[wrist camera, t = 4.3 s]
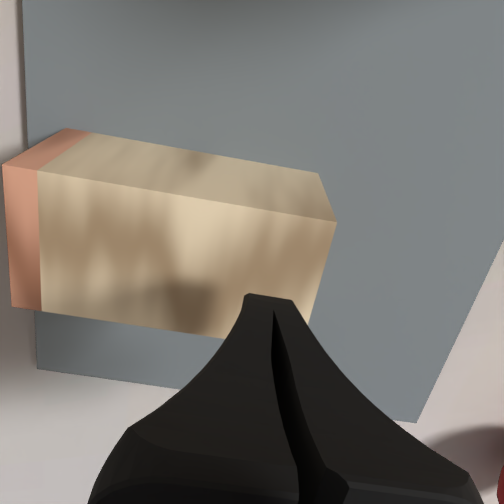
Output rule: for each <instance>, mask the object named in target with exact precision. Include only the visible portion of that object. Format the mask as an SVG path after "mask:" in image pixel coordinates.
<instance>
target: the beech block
mask: <svg viewBox="0 0 504 504" xmlns="http://www.w3.org/2000/svg"><path fill="white" fill-rule="evenodd" d="M2 172H3V187H4V202H5V216H6V231H7V246H8V261H9V275H10V290H11V305H12V307H18V308H24V309H31V310H37V311H44V312H50V313H57V314H64V315H70V316H77V317H83V318H90V319H97V320H103V321H110V322H116V323H123V324H129V325H136V326H143V327H149V328H156V329H162V330H169V331H176V332H182V333H189V334H195V335H202V336H209V337H215V338H222V339H226V337H227V336H228V334H229V333H230V331H231V329H232V327H233V326H234V324H235V322H236V320H237V318H238V316H239V314H240V311H241V308H242V303H243V298H244V295H246V294H248V293H253V294H259V295H265V296H271V297H278V298H284V299H290V300H292V301H293V302H294V304H295V305H296V307H297V308H298V310H299V312H300V313H301V315H302V317H303V318H304V320H305V322H306V323H307V325H308V322H309V319H310V315H311V312H312V308H313V305H314V301H315V298H316V294H317V291H318V287H319V284H320V280H321V277H322V274H323V270H324V267H325V263H326V260H327V256H328V253H329V249H330V246H331V242H332V239H333V235H334V232H335V228H336V225H337V221H336V218H335V215H334V213H333V210H332V208H331V205H330V203H329V200H328V197H327V195H326V192H325V190H324V187H323V185H322V182H321V179H320V177H319V174H318V173H314V172H309V171H303V170H298V169H292V168H286V167H281V166H275V165H270V164H264V163H259V162H253V161H248V160H242V159H237V158H231V157H225V156H220V155H214V154H209V153H203V152H198V151H192V150H187V149H181V148H175V147H170V146H164V145H159V144H153V143H148V142H142V141H137V140H131V139H125V138H120V137H114V136H109V135H103V134H98V133H92V132H87V131H81V130H75V129H70V128H65V129H63V130H61V131H60V132H58V133H56V134H54V135H53V136H51V137H49V138H47V139H46V140H44V141H42V142H40V143H39V144H37V145H35V146H33V147H32V148H30V149H28V150H26V151H25V152H23V153H21V154H19V155H18V156H16V157H14V158H12V159H11V160H9V161H7V162H5V163H4V164H2Z"/></svg>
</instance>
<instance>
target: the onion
mask: <svg viewBox="0 0 504 504" xmlns="http://www.w3.org/2000/svg"><path fill="white" fill-rule="evenodd" d="M497 498H498V501H499V504H504V466H503V467H502V470H501V474H500V477H499V481H498V489H497Z"/></svg>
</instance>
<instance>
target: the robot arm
mask: <svg viewBox="0 0 504 504" xmlns="http://www.w3.org/2000/svg"><path fill="white" fill-rule="evenodd" d="M88 504H484V503H483V501H482V498H481V496H480V494H479V492H478V490H477V488H476V486H475V484H474V482H473V480H472V479H471V477H470V475H469V473H468V472H466V471H465V470H463V469H461V468H460V467H458V466H457V465H455V464H454V463H452V462H450V461H449V460H447V459H446V458H444V457H442V456H441V455H439V454H438V453H436V452H435V451H433V450H431V449H430V448H428V447H427V446H426V445H424V444H423V443H421V442H420V441H419V440H417V439H416V438H415V437H413V436H412V435H411V434H409V433H408V432H406V431H405V430H404V429H403V428H401V427H400V426H399V425H398V424H396V423H395V422H394V421H392V420H391V419H390V418H389V417H388V416H387V415H385V414H384V413H383V412H382V411H381V410H380V409H379V408H377V407H376V406H375V405H374V404H373V403H372V402H371V401H370V400H369V399H368V398H367V397H365V396H364V395H363V394H362V393H361V392H360V391H359V389H358V388H357V387H356V386H355V385H354V384H353V383H352V382H351V381H350V380H349V379H348V378H347V377H346V376H345V375H344V374H343V372H342V371H341V370H340V369H339V368H338V366H337V365H336V364H335V363H334V361H333V360H332V359H331V358H330V357H329V355H328V354H327V353H326V351H325V350H324V348H323V347H322V346H321V344H320V343H319V341H318V340H317V338H316V337H315V336H314V334H313V333H312V331H311V329H310V328H309V326H308V325H307V323H306V322H305V320H304V318H303V317H302V315H301V313H300V312H299V310H298V308H297V307H296V305H295V304H294V302H293V301H292V300H290V299H284V298H278V297H271V296H265V295H259V294H253V293H248V294H246V295H244V298H243V303H242V308H241V311H240V314H239V316H238V318H237V320H236V322H235V324H234V326H233V327H232V329H231V331H230V333H229V334H228V336H227V337H226V339H225V340H224V342H223V343H222V345H221V346H220V348H219V349H218V350H217V352H216V353H215V354H214V356H213V357H212V358H211V359H210V361H209V362H208V363H207V364H206V365H205V366H204V367H203V369H202V370H201V371H200V372H199V373H198V374H197V375H196V376H195V377H194V378H193V379H192V380H191V381H190V382H189V383H188V384H187V385H186V386H185V387H184V388H182V389H181V390H180V391H179V392H178V393H177V394H175V395H174V396H173V397H172V398H170V399H169V400H168V401H167V402H165V403H164V404H163V405H162V406H160V407H159V408H158V409H156V410H155V411H153V412H152V413H150V414H149V415H147V416H146V417H144V418H143V419H141V420H139V421H138V422H136V423H135V424H133V425H132V426H130V427H128V428H127V430H126V431H125V432H124V434H123V435H122V437H121V438H120V440H119V441H118V443H117V444H116V445H115V447H114V449H113V450H112V452H111V453H110V455H109V456H108V458H107V460H106V462H105V463H104V465H103V467H102V469H101V471H100V473H99V475H98V477H97V479H96V481H95V483H94V486H93V489H92V492H91V495H90V498H89V501H88Z"/></svg>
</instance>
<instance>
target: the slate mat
mask: <svg viewBox="0 0 504 504" xmlns="http://www.w3.org/2000/svg"><path fill="white" fill-rule="evenodd" d="M22 10H23V34H24V59H25V84H26V109H27V134H28V149H30V148H32V147H33V146H35V145H37V144H39V143H40V142H42V141H44V140H46V139H47V138H49V137H51V136H53V135H54V134H56V133H58V132H60V131H61V130H63V129H65V128H70V129H75V130H81V131H87V132H92V133H98V134H103V135H109V136H114V137H120V138H125V139H131V140H137V141H142V142H148V143H153V144H159V145H164V146H170V147H175V148H181V149H187V150H192V151H198V152H203V153H209V154H214V155H220V156H225V157H231V158H237V159H242V160H248V161H253V162H259V163H264V164H270V165H275V166H281V167H286V168H292V169H298V170H303V171H309V172H314V173H318V174H319V177H320V179H321V182H322V185H323V187H324V190H325V192H326V195H327V197H328V200H329V203H330V205H331V208H332V210H333V213H334V215H335V218H336V221H337V225H336V228H335V232H334V235H333V239H332V242H331V246H330V249H329V253H328V256H327V260H326V263H325V267H324V270H323V274H322V277H321V280H320V284H319V287H318V291H317V294H316V298H315V301H314V305H313V308H312V312H311V315H310V319H309V322H308V326H309V328H310V329H311V331H312V333H313V334H314V336H315V337H316V338H317V340H318V341H319V343H320V344H321V346H322V347H323V348H324V350H325V351H326V353H327V354H328V355H329V357H330V358H331V359H332V360H333V361H334V363H335V364H336V365H337V366H338V368H339V369H340V370H341V371H342V372H343V374H344V375H345V376H346V377H347V378H348V379H349V380H350V381H351V382H352V383H353V384H354V385H355V386H356V387H357V388H358V389H359V391H360V392H361V393H362V394H363V395H364V396H365V397H367V398H368V399H369V400H370V401H371V402H372V403H373V404H374V405H375V406H376V407H377V408H379V409H380V410H381V411H382V412H383V413H384V414H385V415H387V416H388V417H389V418H390V419H391V420H397V421H404V422H411V423H417V421H418V419H419V416H420V414H421V412H422V410H423V408H424V406H425V404H426V402H427V400H428V398H429V395H430V393H431V391H432V389H433V387H434V385H435V383H436V381H437V379H438V377H439V374H440V372H441V370H442V368H443V366H444V364H445V362H446V360H447V358H448V356H449V353H450V351H451V349H452V347H453V345H454V343H455V341H456V339H457V337H458V334H459V332H460V330H461V328H462V326H463V324H464V322H465V320H466V318H467V316H468V313H469V311H470V309H471V307H472V305H473V303H474V301H475V299H476V297H477V295H478V292H479V290H480V288H481V286H482V284H483V282H484V280H485V278H486V276H487V274H488V271H489V269H490V267H491V265H492V263H493V261H494V259H495V257H496V255H497V252H498V250H499V248H500V246H501V244H502V242H503V240H504V0H22ZM35 332H36V357H37V369H42V370H49V371H56V372H63V373H70V374H77V375H84V376H91V377H98V378H104V379H111V380H118V381H125V382H132V383H139V384H146V385H153V386H160V387H167V388H174V389H182V388H184V387H185V386H186V385H187V384H188V383H189V382H190V381H191V380H192V379H193V378H194V377H195V376H196V375H197V374H198V373H199V372H200V371H201V370H202V369H203V367H204V366H205V365H206V364H207V363H208V362H209V361H210V359H211V358H212V357H213V356H214V354H215V353H216V352H217V350H218V349H219V348H220V346H221V345H222V343H223V342H224V340H225V339H222V338H215V337H209V336H202V335H195V334H189V333H182V332H176V331H169V330H162V329H156V328H149V327H143V326H136V325H129V324H123V323H116V322H110V321H103V320H97V319H90V318H83V317H77V316H70V315H64V314H57V313H50V312H44V311H37V310H35Z"/></svg>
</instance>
